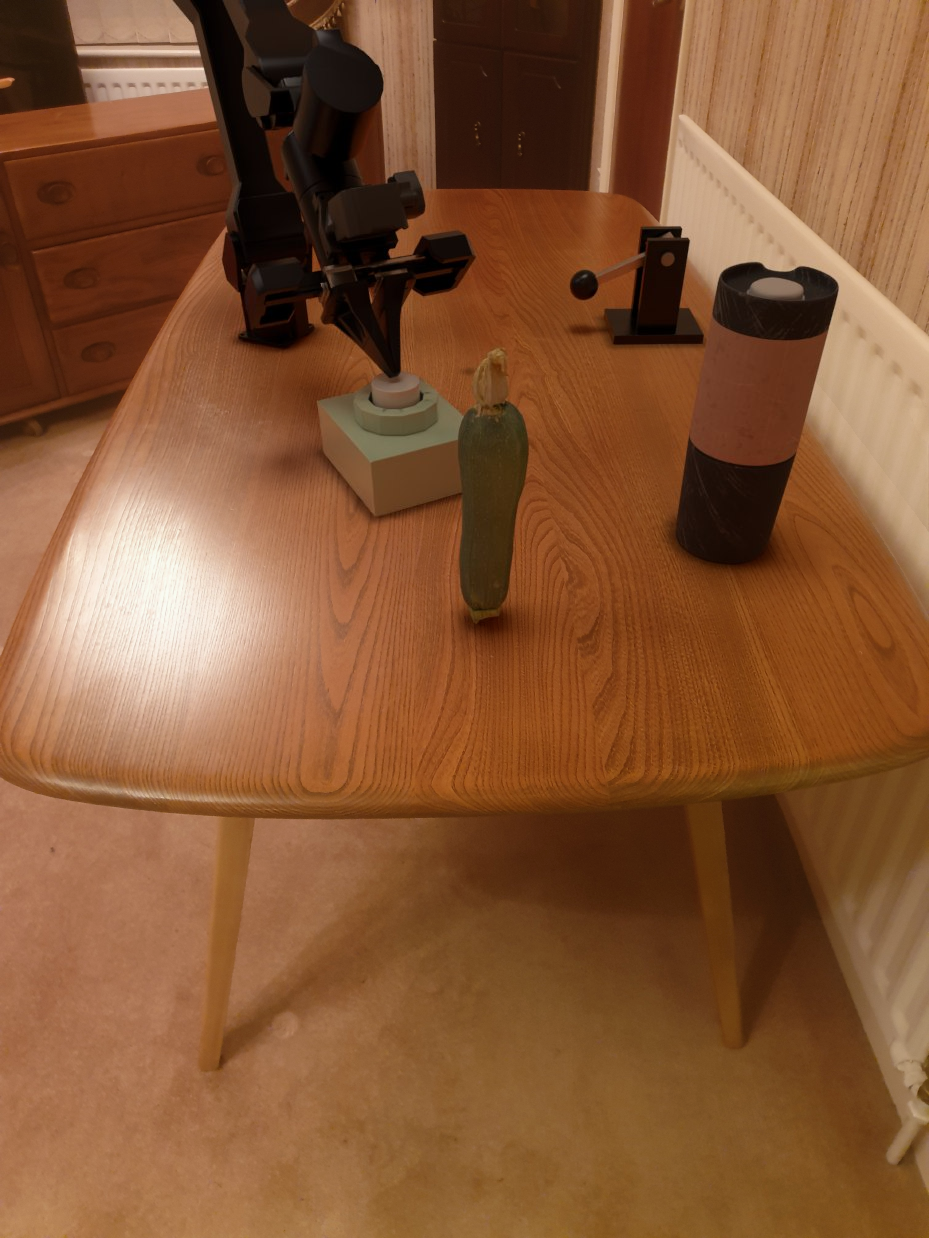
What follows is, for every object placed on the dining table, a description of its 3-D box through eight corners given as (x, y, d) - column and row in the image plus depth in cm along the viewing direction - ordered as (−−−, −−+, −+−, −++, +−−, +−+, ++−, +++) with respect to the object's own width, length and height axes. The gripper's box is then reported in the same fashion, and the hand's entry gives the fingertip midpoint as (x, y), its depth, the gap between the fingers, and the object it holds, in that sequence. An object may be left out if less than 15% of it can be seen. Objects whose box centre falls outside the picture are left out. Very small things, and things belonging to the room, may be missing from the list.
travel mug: (714, 577, 64) (775, 310, 51) (652, 526, 69) (692, 272, 57) (792, 549, 67) (868, 288, 54) (726, 501, 72) (781, 253, 59)
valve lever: (576, 309, 96) (567, 282, 94) (573, 299, 99) (564, 273, 97) (681, 263, 93) (674, 235, 91) (676, 254, 96) (668, 226, 94)
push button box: (323, 453, 79) (314, 381, 74) (422, 428, 82) (419, 357, 78) (375, 517, 71) (368, 441, 66) (482, 487, 74) (483, 412, 70)
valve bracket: (613, 346, 97) (624, 245, 90) (603, 318, 103) (613, 222, 96) (702, 345, 97) (720, 244, 90) (687, 317, 103) (703, 221, 96)
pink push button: (364, 396, 73) (363, 376, 72) (407, 386, 74) (406, 367, 73) (383, 416, 70) (382, 395, 69) (428, 405, 71) (427, 385, 70)
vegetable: (457, 595, 63) (453, 325, 50) (516, 592, 63) (527, 322, 50) (462, 635, 59) (459, 357, 46) (524, 632, 60) (539, 354, 47)
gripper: (227, 147, 60) (301, 356, 60) (464, 119, 67) (532, 308, 66) (218, 235, 71) (281, 414, 70) (424, 204, 77) (482, 367, 77)
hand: (395, 375), depth 71 cm, fingers closed
